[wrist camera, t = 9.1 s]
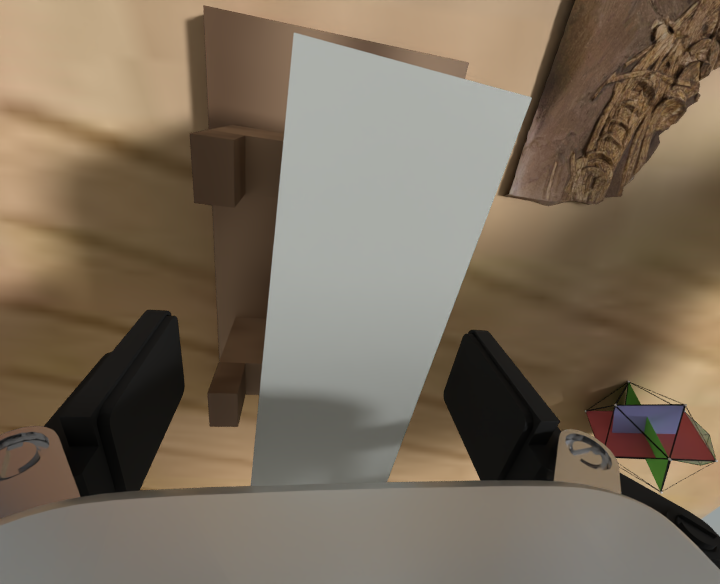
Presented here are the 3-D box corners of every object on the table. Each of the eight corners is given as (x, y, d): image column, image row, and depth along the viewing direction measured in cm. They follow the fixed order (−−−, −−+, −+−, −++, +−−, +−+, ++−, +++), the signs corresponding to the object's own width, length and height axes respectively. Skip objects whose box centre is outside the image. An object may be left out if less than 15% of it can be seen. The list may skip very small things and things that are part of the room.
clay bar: (418, 103, 12) (531, 97, 6) (339, 424, 19) (351, 574, 13) (303, 74, 11) (293, 32, 5) (265, 420, 18) (241, 579, 12)
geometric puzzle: (568, 466, 29) (698, 531, 23) (568, 415, 26) (720, 476, 20) (596, 407, 33) (715, 451, 27) (600, 355, 29) (736, 392, 23)
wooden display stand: (460, 65, 16) (553, 37, 10) (382, 387, 25) (405, 478, 19) (210, 11, 14) (129, -66, 8) (224, 383, 23) (192, 482, 17)
